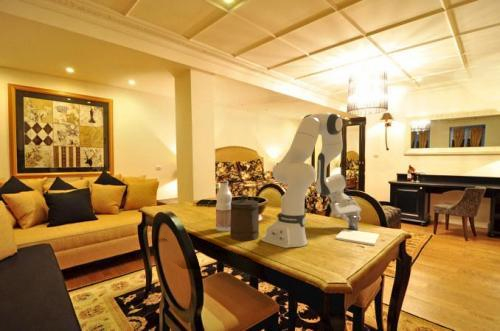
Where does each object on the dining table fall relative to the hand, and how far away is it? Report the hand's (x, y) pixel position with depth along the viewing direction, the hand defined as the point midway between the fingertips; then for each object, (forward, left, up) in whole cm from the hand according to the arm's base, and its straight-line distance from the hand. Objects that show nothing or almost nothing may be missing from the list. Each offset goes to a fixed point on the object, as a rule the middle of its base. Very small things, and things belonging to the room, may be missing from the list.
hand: (354, 220), depth 144 cm
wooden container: (-46, -45, -6) cm, 64 cm away
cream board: (+4, -14, -5) cm, 15 cm away
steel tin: (-1, 0, -5) cm, 6 cm away
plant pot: (-33, -2, -6) cm, 33 cm away
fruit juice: (-63, -41, -6) cm, 75 cm away
